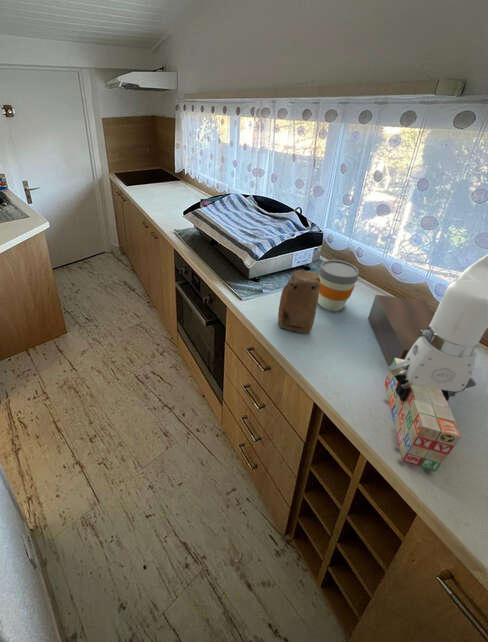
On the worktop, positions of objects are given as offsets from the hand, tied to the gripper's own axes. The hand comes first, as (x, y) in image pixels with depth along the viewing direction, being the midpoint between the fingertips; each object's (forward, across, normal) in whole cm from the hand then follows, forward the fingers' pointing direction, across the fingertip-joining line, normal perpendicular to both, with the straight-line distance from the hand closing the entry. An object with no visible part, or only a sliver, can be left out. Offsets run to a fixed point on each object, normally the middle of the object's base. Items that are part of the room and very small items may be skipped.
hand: (418, 398), depth 68 cm
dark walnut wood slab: (+8, +8, +26) cm, 28 cm away
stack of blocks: (+8, 0, 0) cm, 8 cm away
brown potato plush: (+8, -24, +29) cm, 38 cm away
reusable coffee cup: (+8, -10, +45) cm, 47 cm away
